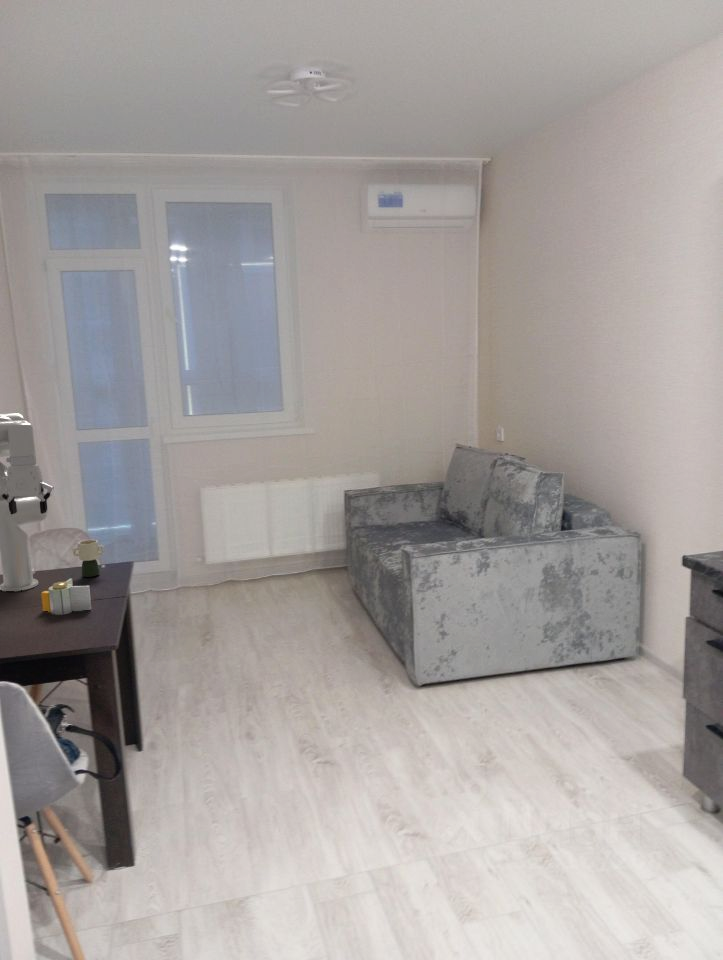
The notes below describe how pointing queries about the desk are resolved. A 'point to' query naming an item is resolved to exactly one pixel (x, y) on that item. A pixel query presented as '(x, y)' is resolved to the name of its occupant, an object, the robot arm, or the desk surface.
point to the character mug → (89, 556)
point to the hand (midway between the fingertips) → (28, 513)
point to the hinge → (69, 599)
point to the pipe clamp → (46, 601)
